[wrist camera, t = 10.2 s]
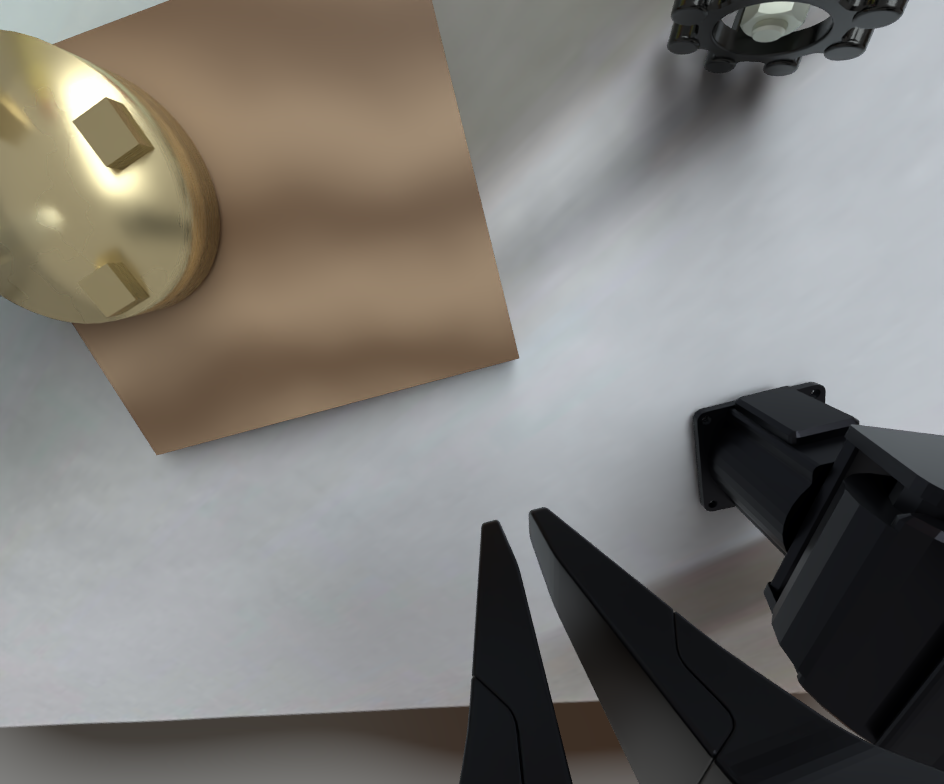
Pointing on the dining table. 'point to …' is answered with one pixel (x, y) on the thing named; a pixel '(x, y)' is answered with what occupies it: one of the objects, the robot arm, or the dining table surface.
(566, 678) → the dining table surface
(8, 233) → the ring nut spanner
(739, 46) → the valve
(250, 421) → the walnut base
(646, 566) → the dining table surface
